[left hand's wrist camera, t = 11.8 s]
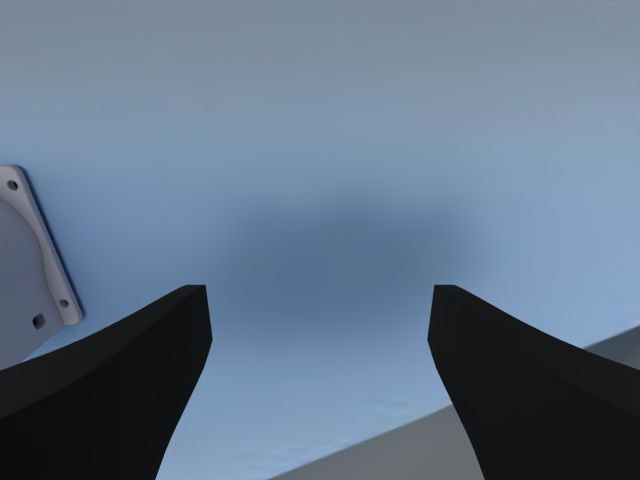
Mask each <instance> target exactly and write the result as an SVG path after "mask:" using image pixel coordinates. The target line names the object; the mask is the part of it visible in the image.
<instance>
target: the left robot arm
mask: <svg viewBox="0 0 640 480" xmlns="http://www.w3.org/2000/svg"><path fill="white" fill-rule="evenodd" d="M14 182H16V183H17V185H18V188H16V187H15V185H14ZM64 300H66V301H67V302H68V303H69V304H68V303H66V302H65V301H64ZM82 318H83V315H82V312H81V310H80V307H79V305H78V302H77V300H76V298H75V295H74V293H73V291H72V288H71V286H70V283H69V281H68V279H67V276H66V274H65V272H64V269H63V267H62V264H61V262H60V260H59V257H58V255H57V253H56V250H55V248H54V245H53V243H52V241H51V238H50V236H49V233H48V231H47V229H46V226H45V224H44V222H43V219H42V217H41V214H40V212H39V210H38V207H37V205H36V203H35V200H34V198H33V195H32V193H31V191H30V188H29V186H28V183H27V181H26V179H25V176H24V174H23V172H22V171H21V169H19V168H18V167H16V166H14V165H7V166H0V480H155V479H156V476H157V473H158V471H159V468H160V465H161V462H162V459H163V457H164V454H165V451H166V449H167V446H168V444H169V442H170V439H171V437H172V435H173V432H174V430H175V428H176V426H177V424H178V422H179V420H180V418H181V416H182V414H183V411H184V409H185V407H186V405H187V403H188V401H189V399H190V397H191V395H192V393H193V390H194V388H195V386H196V384H197V382H198V380H199V378H200V375H201V373H202V371H203V369H204V366H205V363H206V360H207V357H208V354H209V350H210V347H211V343H212V340H213V339H212V331H211V323H210V315H209V308H208V300H207V292H206V285H185V286H182V287H180V288H178V289H176V290H174V291H172V292H170V293H169V294H167V295H165V296H163V297H161V298H160V299H158V300H156V301H154V302H153V303H151V304H149V305H147V306H145V307H144V308H142V309H140V310H138V311H137V312H135V313H133V314H131V315H129V316H127V317H125V318H123V319H121V320H120V321H118V322H116V323H114V324H112V325H110V326H108V327H106V328H104V329H102V330H100V331H98V332H96V333H94V334H92V335H90V336H87V337H85V338H83V339H81V340H79V341H76V342H74V343H72V344H69V345H67V346H64V347H62V348H60V349H57V350H55V351H52V352H50V353H47V354H44V355H41V356H39V357H36V358H33V359H30V360H28V361H25V362H22V361H23V360H24V359H25V358H26V357H28V356H29V355H30V354H31V353H32V352H34V351H35V350H36V349H37V348H38V347H39V346H41V345H42V344H43V343H44V342H45V341H47V340H48V339H49V338H50V337H51V336H53V335H54V334H55V333H56V332H57V331H59V330H60V329H61V328H62V327H63V326H67V325H75V324H77V323H79V322H80V321H81V320H82ZM427 340H428V343H429V347H430V350H431V354H432V357H433V360H434V363H435V366H436V369H437V371H438V373H439V375H440V378H441V380H442V382H443V384H444V386H445V388H446V390H447V393H448V395H449V397H450V399H451V401H452V403H453V405H454V407H455V409H456V411H457V414H458V416H459V418H460V420H461V422H462V424H463V426H464V428H465V430H466V432H467V434H468V437H469V439H470V442H471V444H472V446H473V449H474V451H475V454H476V457H477V459H478V462H479V465H480V468H481V471H482V473H483V476H484V479H485V480H640V370H638V369H635V368H632V367H629V366H626V365H624V364H621V363H618V362H615V361H612V360H609V359H606V358H604V357H601V356H598V355H596V354H593V353H591V352H588V351H586V350H583V349H581V348H578V347H576V346H574V345H571V344H569V343H567V342H564V341H562V340H559V339H557V338H555V337H553V336H551V335H548V334H546V333H544V332H542V331H540V330H538V329H536V328H534V327H532V326H530V325H528V324H526V323H524V322H522V321H520V320H518V319H517V318H515V317H513V316H511V315H509V314H507V313H505V312H504V311H502V310H500V309H498V308H496V307H495V306H493V305H491V304H489V303H488V302H486V301H484V300H482V299H481V298H479V297H477V296H475V295H473V294H472V293H470V292H468V291H466V290H464V289H462V288H460V287H458V286H455V285H434V292H433V300H432V308H431V315H430V323H429V331H428V339H427ZM20 362H22V363H20Z"/></svg>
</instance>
